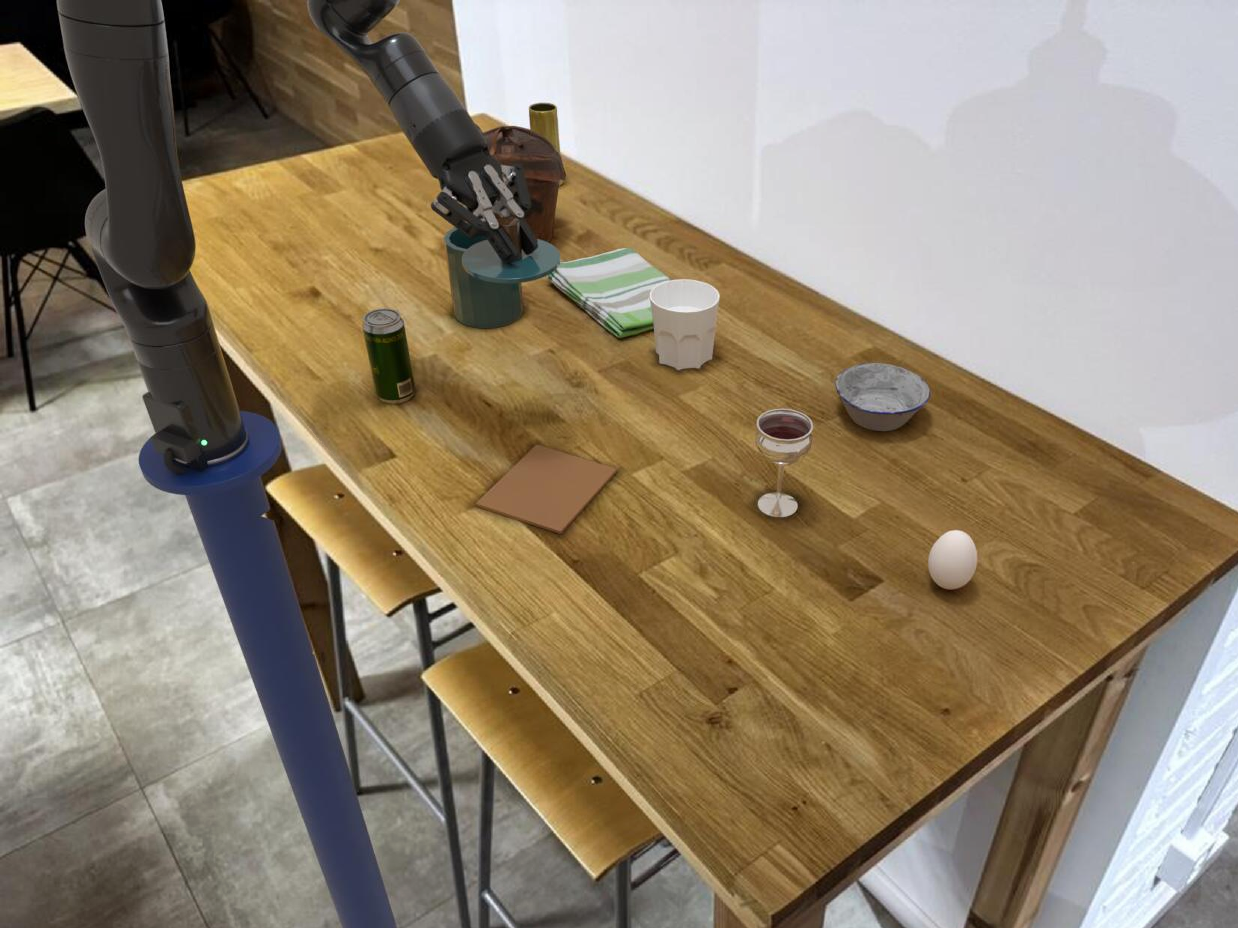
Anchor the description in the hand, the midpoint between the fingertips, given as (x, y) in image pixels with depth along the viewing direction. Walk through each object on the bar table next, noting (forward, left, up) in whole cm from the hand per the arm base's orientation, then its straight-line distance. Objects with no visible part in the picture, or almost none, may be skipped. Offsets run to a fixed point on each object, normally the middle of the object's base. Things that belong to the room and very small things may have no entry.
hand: (523, 254), depth 127 cm
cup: (+27, -8, -26) cm, 39 cm away
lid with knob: (0, +2, -1) cm, 3 cm away
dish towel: (+39, +8, -26) cm, 48 cm away
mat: (-10, -7, -26) cm, 28 cm away
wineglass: (0, -34, -26) cm, 43 cm away
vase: (+74, +44, -26) cm, 90 cm away
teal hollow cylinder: (+25, +25, -26) cm, 44 cm away
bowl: (+25, -39, -26) cm, 53 cm away
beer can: (-1, +23, -26) cm, 35 cm away
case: (+50, +36, -26) cm, 67 cm away
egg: (-5, -57, -26) cm, 63 cm away
